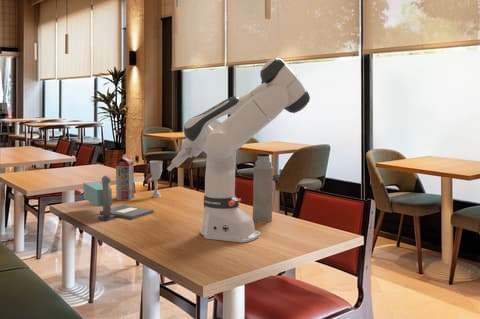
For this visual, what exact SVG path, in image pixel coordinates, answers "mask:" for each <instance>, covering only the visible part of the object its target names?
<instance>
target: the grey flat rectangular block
mask: <svg viewBox="0 0 480 319" xmlns="http://www.w3.org/2000/svg"><path fill="white" fill-rule="evenodd" d="M154 211H155V210H154V209H148V208H143V207H137V206H131V205H123V204H122V205H118V206H114V207H111V215H115V216H116V218H122V219H129V220H135V219H137V218H141V217H144V216H148V215H150V214H151V215H152V214H154V213H155V212H154ZM99 215H103V209H102V210H100V211H99Z"/></svg>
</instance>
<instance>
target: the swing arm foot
mask: <svg viewBox="0 0 480 319" xmlns="http://www.w3.org/2000/svg"><path fill="white" fill-rule="evenodd" d="M115 219H117V217H116V216H115V215H111V216H109V217H104V216H103V214H101V215H98V216H97V220H99V221H100V220H101V221H104V222H109V221H112V220H115Z"/></svg>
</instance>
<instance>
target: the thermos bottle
mask: <svg viewBox="0 0 480 319" xmlns="http://www.w3.org/2000/svg"><path fill="white" fill-rule="evenodd" d="M254 165H255V166H253V180H252V181H253V183H252V184H253V188H252V190H253V192H252V200H253V201H252V219H253V222H256V223H270V222H272V220H273V190H274V189H273V188H274V186H273V185H274V183H273V182H274V167H273V166H272V165H273V163H272V161H271V160H270V153H267V152H259V153H257V160H256V161H255V164H254Z"/></svg>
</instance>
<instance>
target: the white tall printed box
mask: <svg viewBox="0 0 480 319" xmlns="http://www.w3.org/2000/svg"><path fill="white" fill-rule="evenodd" d="M134 174H135V173H134V159H132V158H130V157H128V153H126V154H123V155H122V157H121V159H119V160H117V161H115V190H116V194H115V197H116V199H115V200H118V201H130V200H132V199H134V198H135V191H134V190H135V189H134V188H135V187H134V186H135V185H134V184H135V182H134V181H135V180H134Z"/></svg>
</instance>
